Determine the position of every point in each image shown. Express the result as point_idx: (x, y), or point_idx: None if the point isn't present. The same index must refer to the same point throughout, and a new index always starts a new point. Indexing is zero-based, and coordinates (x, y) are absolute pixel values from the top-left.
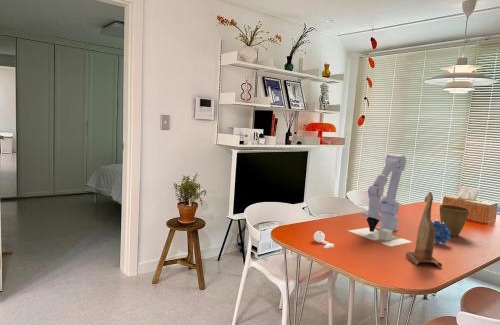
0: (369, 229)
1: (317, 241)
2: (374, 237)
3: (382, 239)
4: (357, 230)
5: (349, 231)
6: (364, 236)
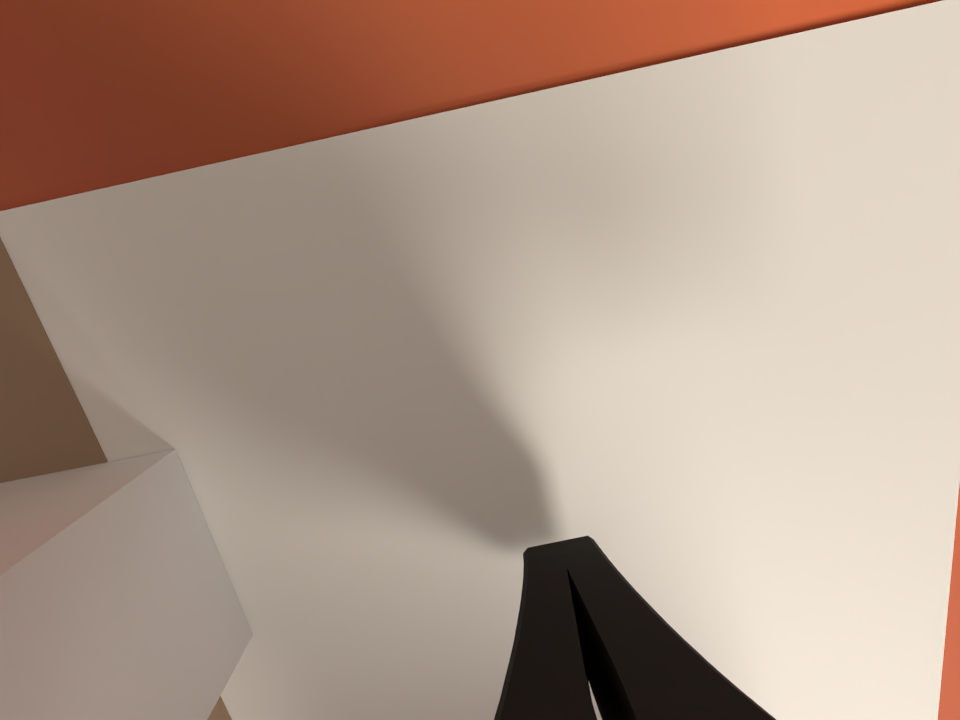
0: (818, 679)
1: None
2: (248, 402)
3: (39, 479)
4: (880, 345)
5: (921, 6)
6: (354, 160)
